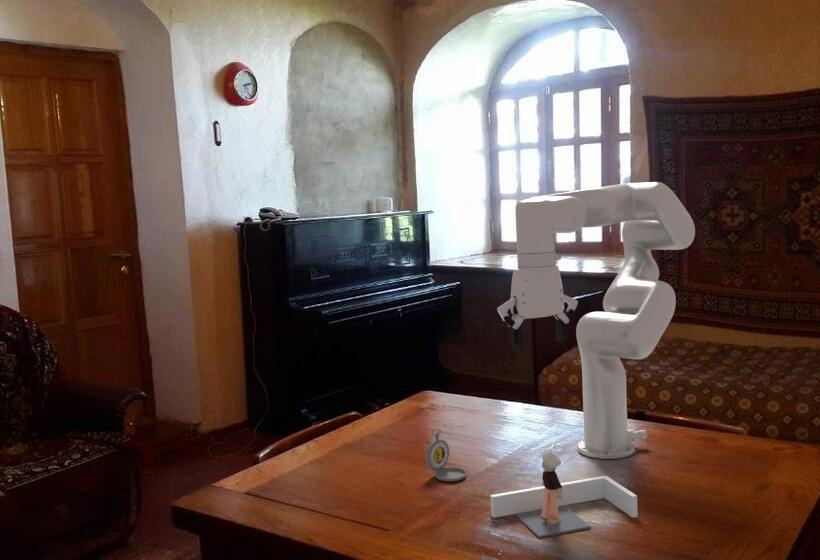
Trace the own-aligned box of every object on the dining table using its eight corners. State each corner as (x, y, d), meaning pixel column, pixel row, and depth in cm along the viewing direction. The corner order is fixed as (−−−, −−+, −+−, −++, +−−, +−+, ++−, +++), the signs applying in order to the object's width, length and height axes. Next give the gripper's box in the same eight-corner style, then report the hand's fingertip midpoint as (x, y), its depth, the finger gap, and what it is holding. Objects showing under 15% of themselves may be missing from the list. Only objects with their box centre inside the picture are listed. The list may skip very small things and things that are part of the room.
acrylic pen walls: (606, 495, 156) (606, 475, 155) (637, 516, 145) (637, 495, 145) (491, 515, 149) (490, 495, 149) (515, 539, 139) (514, 517, 138)
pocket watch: (464, 483, 166) (461, 436, 165) (424, 482, 168) (421, 436, 167) (469, 469, 174) (467, 424, 173) (431, 468, 176) (428, 424, 175)
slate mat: (564, 507, 151) (564, 505, 151) (590, 528, 142) (590, 526, 142) (515, 516, 149) (515, 514, 148) (538, 538, 139) (538, 535, 139)
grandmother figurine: (531, 515, 148) (528, 448, 146) (548, 510, 149) (546, 444, 148) (555, 530, 141) (553, 460, 139) (573, 525, 142) (571, 456, 141)
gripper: (566, 256, 167) (569, 337, 169) (489, 263, 162) (492, 346, 164) (584, 258, 160) (586, 343, 162) (503, 266, 155) (507, 352, 157)
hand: (539, 344), depth 163 cm, fingers open, 9 cm apart
